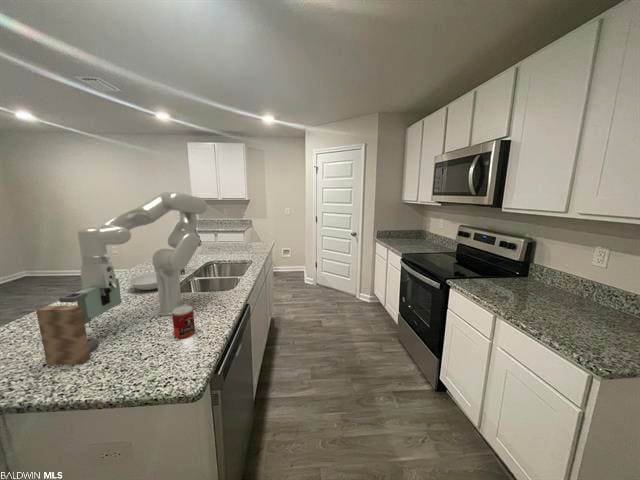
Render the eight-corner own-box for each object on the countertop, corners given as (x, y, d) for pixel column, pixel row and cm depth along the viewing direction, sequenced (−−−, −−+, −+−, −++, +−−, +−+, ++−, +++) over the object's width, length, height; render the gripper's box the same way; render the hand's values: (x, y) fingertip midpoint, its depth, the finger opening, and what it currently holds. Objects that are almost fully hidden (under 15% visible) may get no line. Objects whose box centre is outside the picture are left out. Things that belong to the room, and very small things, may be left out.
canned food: (181, 341, 99) (178, 315, 97) (170, 335, 103) (167, 310, 101) (199, 332, 105) (197, 308, 104) (188, 327, 110) (186, 303, 108)
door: (123, 302, 108) (120, 278, 106) (78, 327, 87) (73, 298, 85) (112, 302, 108) (108, 278, 106) (64, 327, 87) (58, 298, 85)
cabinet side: (106, 346, 95) (99, 297, 91) (82, 364, 85) (73, 309, 82) (74, 347, 95) (66, 297, 91) (47, 364, 85) (35, 309, 81)
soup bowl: (150, 280, 169) (149, 271, 168) (182, 282, 166) (182, 272, 165) (117, 293, 146) (116, 283, 145) (154, 296, 143) (153, 285, 142)
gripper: (123, 257, 100) (129, 300, 104) (82, 257, 100) (89, 300, 103) (108, 262, 93) (114, 308, 96) (64, 261, 93) (71, 308, 96)
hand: (101, 303), depth 100 cm, fingers closed on door, 3 cm apart
